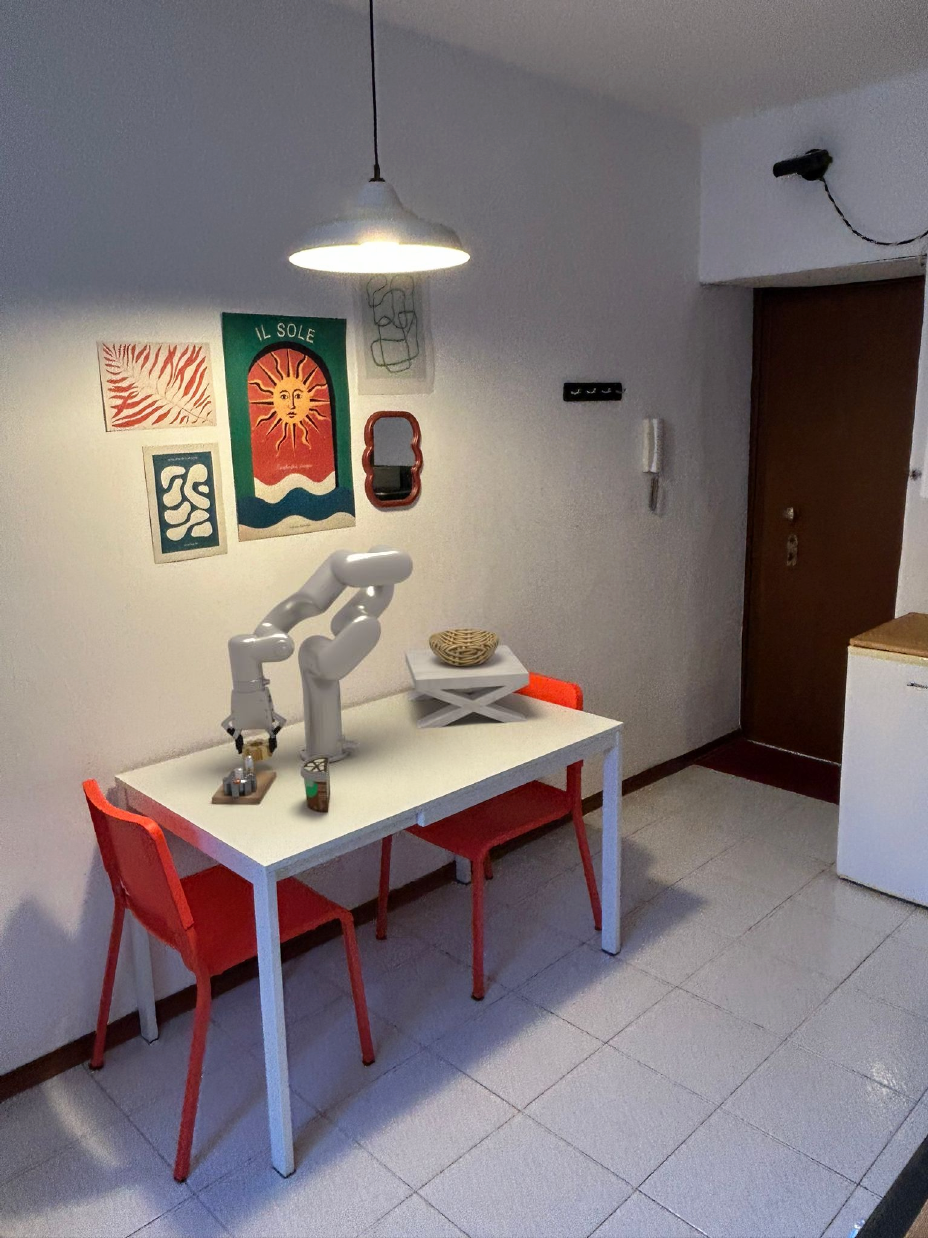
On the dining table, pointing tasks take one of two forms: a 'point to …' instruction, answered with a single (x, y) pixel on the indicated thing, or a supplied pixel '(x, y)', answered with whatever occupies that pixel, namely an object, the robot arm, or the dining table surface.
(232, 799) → the gear board
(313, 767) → the food container
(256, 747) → the wooden gear
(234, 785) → the gear
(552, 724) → the dining table surface
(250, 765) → the peg
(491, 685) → the stand with wicker basket
